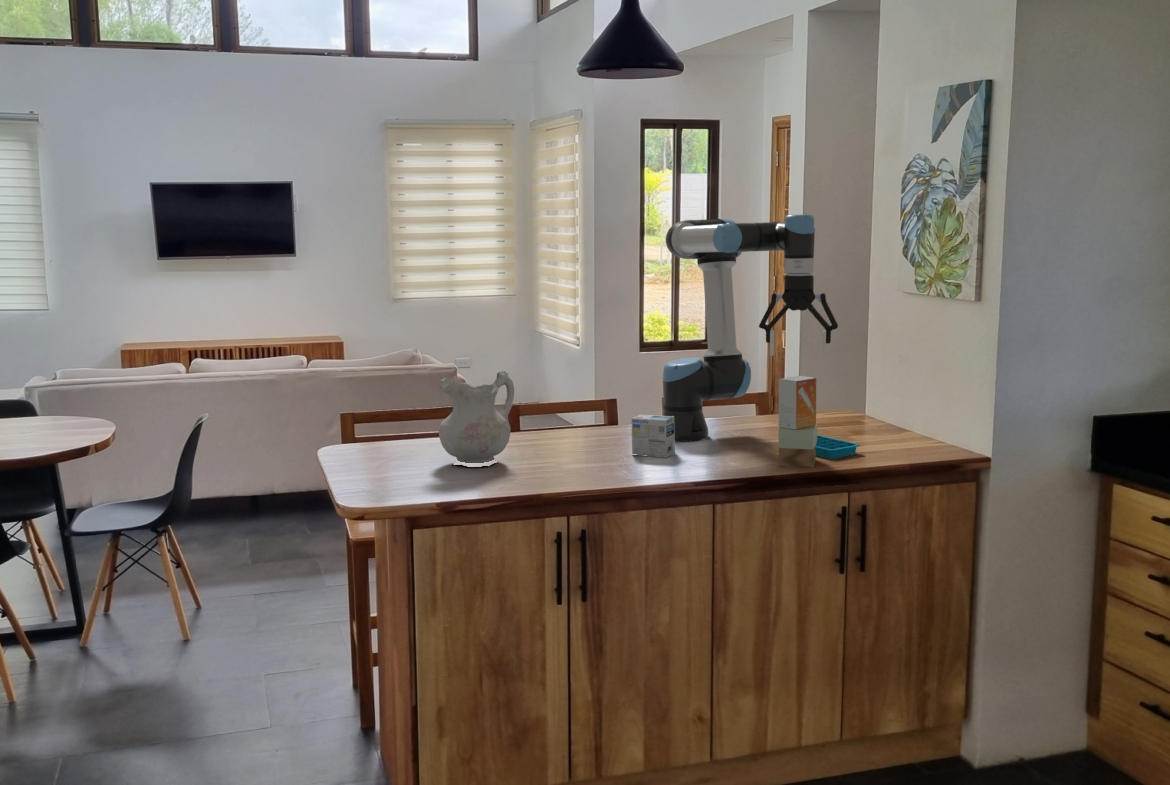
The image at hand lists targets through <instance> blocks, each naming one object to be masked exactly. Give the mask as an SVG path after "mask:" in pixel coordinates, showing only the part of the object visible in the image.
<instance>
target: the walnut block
mask: <svg viewBox="0 0 1170 785" xmlns="http://www.w3.org/2000/svg"><path fill="white" fill-rule="evenodd" d="M816 458H817V456H816V445H815V447H814V449H791V448H778V466H779V467H789V468H790V467H795V468H815V465H816V464H815V463H816V461H817V460H816Z"/></svg>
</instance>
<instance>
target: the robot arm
mask: <svg viewBox="0 0 1170 785" xmlns="http://www.w3.org/2000/svg"><path fill="white" fill-rule="evenodd" d="M815 232H816V228H815V218H814V216H813V215H812V214H788V215H786V216H785V218H784V222H783V221H769V222H745V223H744V222H738V223H737V222H735V221H734V220H732V219H726V218H725V219H724V218H714V219H713V218H712V219H711V218H710V219H709V218H708V219H707V218H706V219H685V220H681V221H678V222H675V223H674V224H672V225H671V226H670V228H669V229H668V230H667V232H666V235H665V245H666V248H667V249H668V251H669V252H670V253H671V254H672V255H674V256H675V257H677V258H680V259H682V260H683V259H685V260H697V261H696V262H697V267H698V268H699V269H701V271H702V273H703V274H702V275H703V290H704V291H703V293H704V304H705V306H704V307H705V320H706V321H705V322H706V323H705V324H706V338H707V339H706V341H707V351H706V352H705V353H704V354H703V358H700V357H694V356H693V357H684V358H683V357H681V358H678V359H673V360H671V361H668V362H667V363H665V364H664V366H663V369H662V370H663V372H662V385H663V386H662V392H663V393H662V395H663V403H662V404H663V411H662V412H663V413H662V415H661V416H674V425H675V442H694V441H695V442H696V441H702V440H703V441H704V440H705V439H708V438H709V427H708V425H707V421H706V418H705V416H704V412H703V401H704V402H705V401H715V400H732V399H735V398H741V397H743V396H744V395H746V393H747V392H748V390H749V388H750V385H751V382H752V381H751V380H752V370H751V366H750V363H749V361H748V360H747V359H744V358H743V353H742V351H740V350H739V349H738V348H737V334H736V333H737V332H736V319H735V305H734V304H735V303H734V301H735V300H734V287H733V270H732V269H733V268H734V267H735V265H736V264H737V258H739V257H740V255H741V254H742V253H745V252H748V253H749V252H773V251H774V252H776V251H780V252H781V251H782V252H783V251H784V264H783V265H784V269H783V270H784V271H783V272H784V273H785V274H786V275H785V276H783V278H784V279H783V281H784V282H783V293H777V292H774V293H772V294H771V300H770V302H769V305H768V307H767V309H766V311H765V313H764V315H763V317H762V319H761V320H760V323H759V324H758V327H759V328H760V329H762V330H764V331H765V343H768V344H769V356H771V357H773V356H774V355H775V351H774V350H775V331H774V329H772V328H773V327H774V326H775V325H776V324H777V323H778V322H779V320H780V319H782V317H783V316H784V315H785V314H786V313H787V311H788V310H790V311H793V312H794V311H806V310H808V311H809V313H811V314H812V316H814V318H815V319H816V320H817V321H818V323H820V325H821V326H822V327H823V328H824V330H823V331H822V357H823V358H826V356H827V344H830V343H831V341H832V331H833V330H837V329H838V327H839V324H838V322H837V320H836V318H835V316H834V314H833V312H832V310H831V308H830V306H829V304H828V302H827V296H826V295H827V294H826V293H825V292H821V293H815V292H814V288H815V287H814V284H815V283H814V282H815V281H814V280H815V279H814V278H815V277H814V275H812V274H813V273H814V271H815V269H814V268H815V257H814V256H815V235H816V234H815ZM781 299H782V300H783V302H784V303H785V305H784V306H783V307H782V308H781V310H779V312H777V314H776V315H775V317H774V318H772V320H771V321H770V322H769V323H768V324H766V323H767V322H768V320H769V317H770V316H771V314H772V312H773V311H774V308H775V306H776V304H777V302H780V300H781ZM815 300H817V302H819V303H821V305H822V308H823V310H824V312H825V314H826V316H827V318H828V320H829V321H830V322H829V323H830V324H829V323H828V322H827V320H826V319H825V318H824V317H823V316H822V315H821V313H819V311H818V310H817V309H816V308H815V306H814V305H813V302H814V301H815ZM702 359H703V360H702Z"/></svg>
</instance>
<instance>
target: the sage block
mask: <svg viewBox="0 0 1170 785" xmlns="http://www.w3.org/2000/svg"><path fill="white" fill-rule="evenodd" d="M817 435H818V424H817V423H816V426H812V427H807V428H801V429H797V430H795V429H788V428H782V427H778V439H777V440H778V442H777V443H778V446H777V447H778V449H779V448H791V449H814V447H815V445H816V443H817Z"/></svg>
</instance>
